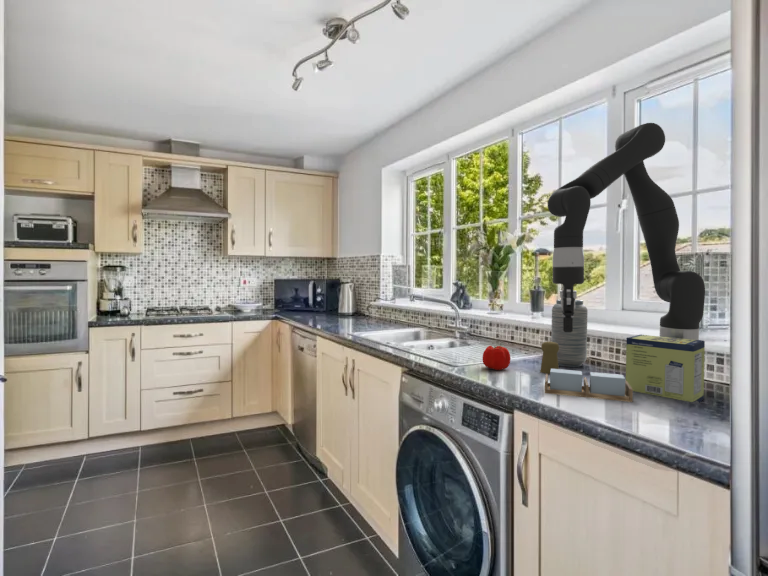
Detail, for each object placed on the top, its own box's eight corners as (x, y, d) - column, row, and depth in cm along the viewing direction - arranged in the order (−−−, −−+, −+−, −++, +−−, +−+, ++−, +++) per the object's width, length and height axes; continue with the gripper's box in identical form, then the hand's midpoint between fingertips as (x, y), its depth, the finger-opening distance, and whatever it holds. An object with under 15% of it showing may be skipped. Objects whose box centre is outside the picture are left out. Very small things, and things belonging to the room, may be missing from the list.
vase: (577, 369, 146) (578, 301, 145) (544, 364, 154) (546, 300, 154) (592, 365, 153) (593, 300, 153) (560, 360, 162) (561, 298, 161)
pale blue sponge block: (622, 394, 111) (622, 374, 111) (624, 398, 107) (625, 378, 106) (589, 390, 113) (590, 372, 113) (590, 395, 109) (591, 375, 109)
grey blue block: (581, 389, 114) (581, 371, 114) (581, 394, 110) (582, 374, 110) (550, 386, 117) (550, 368, 117) (549, 390, 113) (550, 371, 113)
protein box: (637, 388, 123) (639, 333, 122) (704, 400, 111) (706, 340, 110) (623, 395, 116) (625, 337, 115) (693, 408, 104) (695, 344, 103)
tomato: (500, 365, 152) (501, 344, 152) (514, 371, 143) (515, 348, 143) (476, 366, 149) (477, 345, 149) (489, 372, 141) (489, 349, 141)
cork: (561, 379, 132) (562, 343, 132) (541, 378, 133) (541, 342, 133) (557, 374, 138) (558, 340, 138) (538, 373, 139) (538, 339, 139)
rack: (626, 398, 112) (626, 380, 112) (632, 408, 104) (632, 389, 104) (545, 390, 120) (545, 373, 120) (544, 399, 111) (544, 381, 111)
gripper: (585, 264, 105) (585, 335, 105) (582, 265, 117) (581, 329, 118) (552, 265, 107) (552, 334, 108) (552, 266, 120) (552, 328, 120)
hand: (567, 331), depth 113 cm, fingers closed
